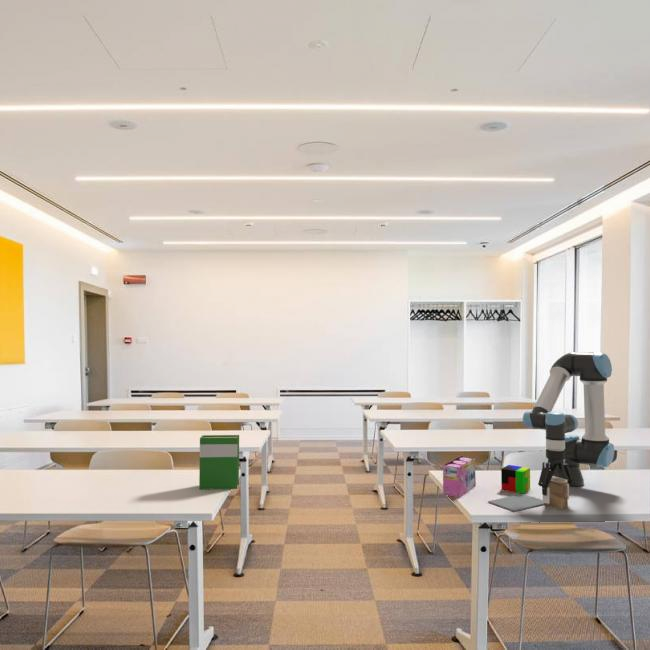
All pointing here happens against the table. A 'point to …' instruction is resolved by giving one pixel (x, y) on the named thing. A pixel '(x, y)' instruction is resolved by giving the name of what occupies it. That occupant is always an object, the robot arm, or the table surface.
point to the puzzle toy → (515, 479)
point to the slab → (558, 493)
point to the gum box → (458, 476)
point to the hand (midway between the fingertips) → (556, 500)
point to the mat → (517, 502)
